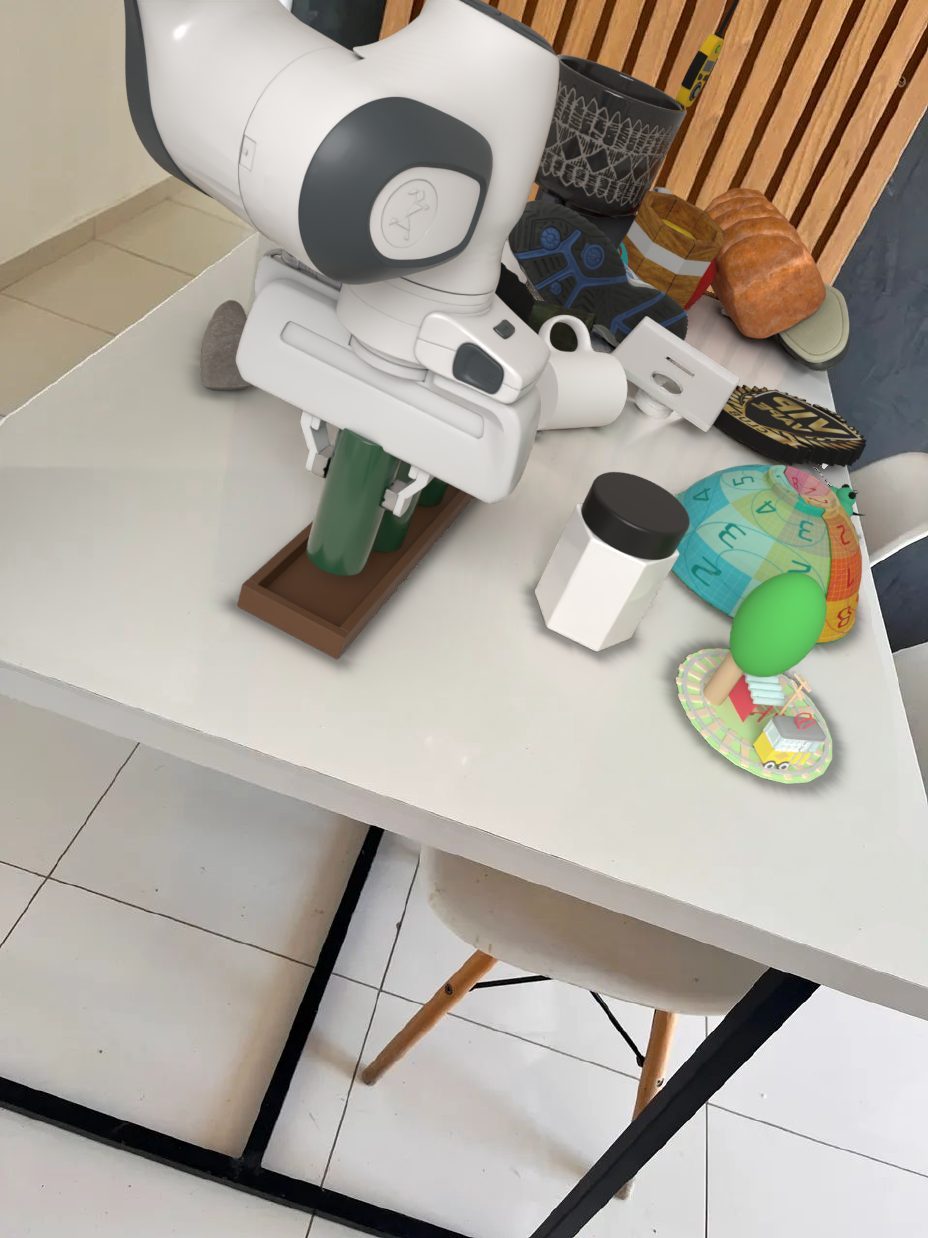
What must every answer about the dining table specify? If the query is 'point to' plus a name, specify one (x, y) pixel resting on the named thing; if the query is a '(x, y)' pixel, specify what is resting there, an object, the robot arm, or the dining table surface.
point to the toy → (846, 498)
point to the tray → (341, 582)
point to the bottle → (350, 504)
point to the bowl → (769, 539)
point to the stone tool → (223, 348)
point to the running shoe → (587, 273)
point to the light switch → (673, 375)
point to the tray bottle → (396, 519)
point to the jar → (611, 560)
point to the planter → (605, 144)
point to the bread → (762, 266)
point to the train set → (763, 684)
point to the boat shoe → (820, 334)
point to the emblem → (789, 428)
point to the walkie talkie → (702, 64)
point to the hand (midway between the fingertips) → (356, 490)
